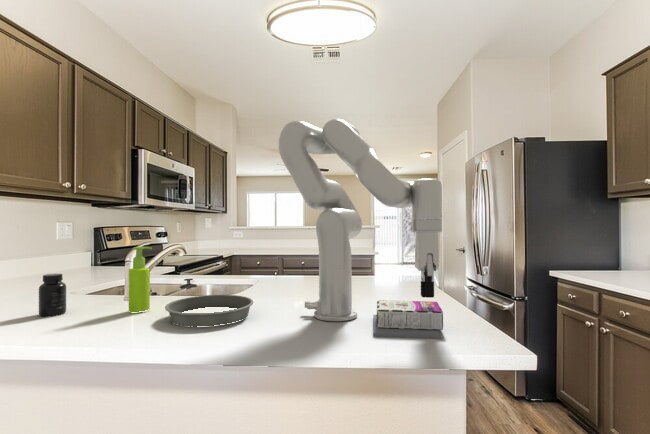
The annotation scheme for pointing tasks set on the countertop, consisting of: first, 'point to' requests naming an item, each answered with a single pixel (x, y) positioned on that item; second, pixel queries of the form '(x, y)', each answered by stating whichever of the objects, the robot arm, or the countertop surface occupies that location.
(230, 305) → the baking ring
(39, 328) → the countertop surface
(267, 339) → the countertop surface
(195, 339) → the countertop surface
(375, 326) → the mat
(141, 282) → the soap dispenser
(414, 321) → the candy bar box
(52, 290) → the supplement bottle
